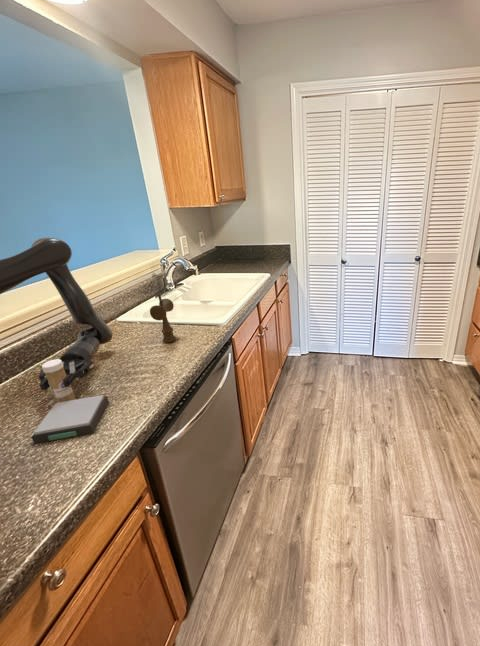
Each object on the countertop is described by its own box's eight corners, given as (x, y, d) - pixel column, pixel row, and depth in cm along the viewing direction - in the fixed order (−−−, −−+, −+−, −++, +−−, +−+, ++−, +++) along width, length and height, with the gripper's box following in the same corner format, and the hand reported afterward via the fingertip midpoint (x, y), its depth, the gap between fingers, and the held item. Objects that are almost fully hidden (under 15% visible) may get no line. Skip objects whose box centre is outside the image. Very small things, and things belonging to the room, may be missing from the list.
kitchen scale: (33, 445, 78) (29, 435, 77) (58, 410, 90) (54, 402, 89) (92, 434, 80) (89, 424, 79) (108, 402, 92) (106, 393, 91)
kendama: (157, 346, 124) (145, 297, 116) (166, 336, 133) (156, 289, 125) (173, 346, 124) (161, 296, 116) (181, 335, 133) (171, 288, 125)
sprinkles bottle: (66, 409, 90) (50, 367, 85) (53, 407, 91) (36, 366, 86) (80, 399, 94) (65, 359, 89) (67, 397, 96) (52, 357, 90)
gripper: (48, 349, 100) (18, 378, 85) (99, 343, 103) (79, 369, 88) (57, 370, 103) (29, 402, 88) (105, 363, 106) (87, 392, 91)
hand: (54, 385), depth 88 cm, fingers open, 5 cm apart
